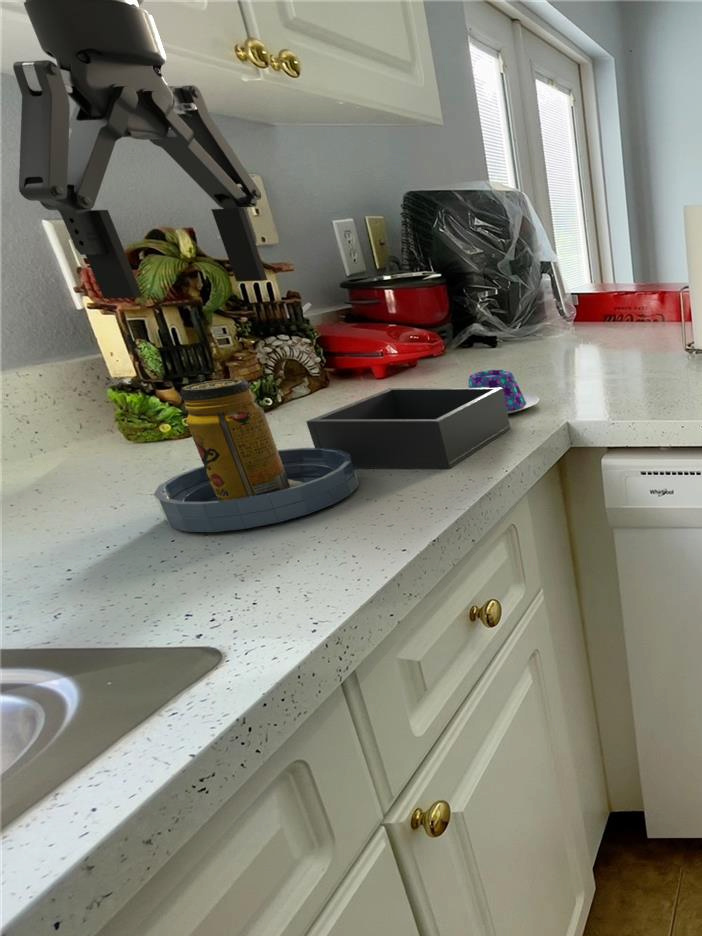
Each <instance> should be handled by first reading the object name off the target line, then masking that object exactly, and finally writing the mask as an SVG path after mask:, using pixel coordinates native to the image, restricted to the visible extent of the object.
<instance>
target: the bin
mask: <svg viewBox="0 0 702 936" xmlns="http://www.w3.org/2000/svg"><path fill="white" fill-rule="evenodd" d="M305 422H306V426H307V428H308V429H307V430H308V431H309V435H310V438H311V440H312V444H313V448H329V449H336V450H342V451H344V452H346V453H348V454H350V455H351V459H352V462H353V465H354V468H355V469H405V470H406V469H413V470H415V469H417V470H418V469H421V470H422V469H423V470H426V469H427V470H428V469H429V470H432V469H433V470H441V469H442V470H450V469H452V468H453V467H455V466H457V465H459V464H460V463H461V462H462V461H464V460H465V459H467V458H469V457H470V456H472V455H473V454H475V453H476V452H478V451H479V450H481V449H483V448H485V446H488V445H489V444H491V443H492V442H493V441H494V440H496V439H498V438H499V437H501V436H502V435H505V433H507V432H509V431H510V430H511V429H512V427H511V423H510V418H509V414H508V413H507V408H506V403H505V398H504V393H503V388H468V387H409V388H408V387H390V388H387V389H384V390H381V391H378V392H377V393H374V394H372V395H369V396H366V397H363V398H362V399H360V400H357V401H354V402H352V403H349V404H346V405H344V406H341V407H339V408H336V409H334V410H331V411H328V412H326V413H324V414H321V415H318V416H317V417H313V418H310V419H308V420H306V421H305Z"/></svg>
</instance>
